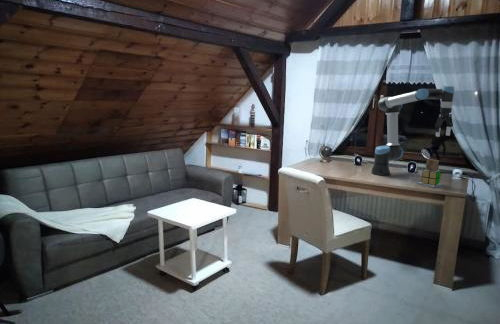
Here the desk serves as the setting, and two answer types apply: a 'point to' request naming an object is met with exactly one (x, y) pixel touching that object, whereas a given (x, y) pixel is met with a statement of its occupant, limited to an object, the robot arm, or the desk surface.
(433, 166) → the walnut block
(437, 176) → the puzzle cube
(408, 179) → the desk surface
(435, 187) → the build board
